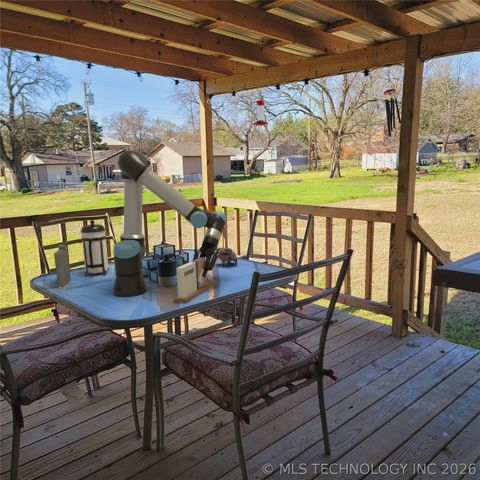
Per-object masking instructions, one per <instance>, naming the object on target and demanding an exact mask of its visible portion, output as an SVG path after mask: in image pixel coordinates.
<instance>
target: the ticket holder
mask: <svg viewBox="0 0 480 480" xmlns="http://www.w3.org/2000/svg"><path fill="white" fill-rule="evenodd" d="M176 282H177V283H176V284H177V296H175V297H173V303H182V304H187V303H188V302H190V301H192V300H193V299H195V298H197V297H198V296H200V295H201V294H204V293H205V292H206V291H208V290H209V289H211V288H212V287H214V286H217V284H218V283H219V282H218V280H216V279H207V278H206V285H204V286H202V287H201V288H199V289H197V279H196V262H192V261H190V262H187V263H184V264H182V265H181V266H178V267H176Z"/></svg>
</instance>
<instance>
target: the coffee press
mask: <svg viewBox="0 0 480 480" xmlns="http://www.w3.org/2000/svg"><path fill="white" fill-rule="evenodd" d="M89 223H90V224H87V225H83V226H82V227H81V229H80V233H81V238H80V239H81V241H82V250H83V251H82V253H83V260H84V261H83V262H84V268H85V269H84V270H85V273H84V276H85V277H87V276H88V277H89V275H91V274H102V275H103V274H104V275H103V276H106V275H107V271H106V270H109V271H110V268H109V260H108V252H107V240H106V239H107V236H106V228H105V226H104V225H102V224H100V223H98V224H97V223H95V220H93V219H91V220H90V221H89Z"/></svg>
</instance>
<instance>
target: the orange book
mask: <svg viewBox="0 0 480 480" xmlns="http://www.w3.org/2000/svg"><path fill="white" fill-rule="evenodd" d="M199 257H200V256H199ZM199 257H198V259H196V260H194V261H193V260H191V262H196V279H197V289H199V288H201V287H202V286H204V285H206V279H207V276H206V277H204V278H203V281H202V284H199V282H198V279H199V276H200V273H201V271H202V269H204V268H203V267H204V266H205V261H206V257H205V258H202V257H200V258H199Z"/></svg>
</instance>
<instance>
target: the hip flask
mask: <svg viewBox="0 0 480 480" xmlns="http://www.w3.org/2000/svg"><path fill="white" fill-rule="evenodd" d="M57 248H58V250H57V251H55V252H53V257H54V267H55V275H56V281H57V282H56V283H57V288H58V287H64V286H66V285H67V284H68V283H69V282H70V281H71V282H72V278H71V277H72V276H71V269H70V260H69V252H68V247H66V244H60V245H59V244H58V245H57ZM71 282H70V283H71ZM70 283H69V284H70ZM69 284H68V285H69ZM68 285H67V286H68ZM67 286H66V287H67ZM64 288H65V287H64Z"/></svg>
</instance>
